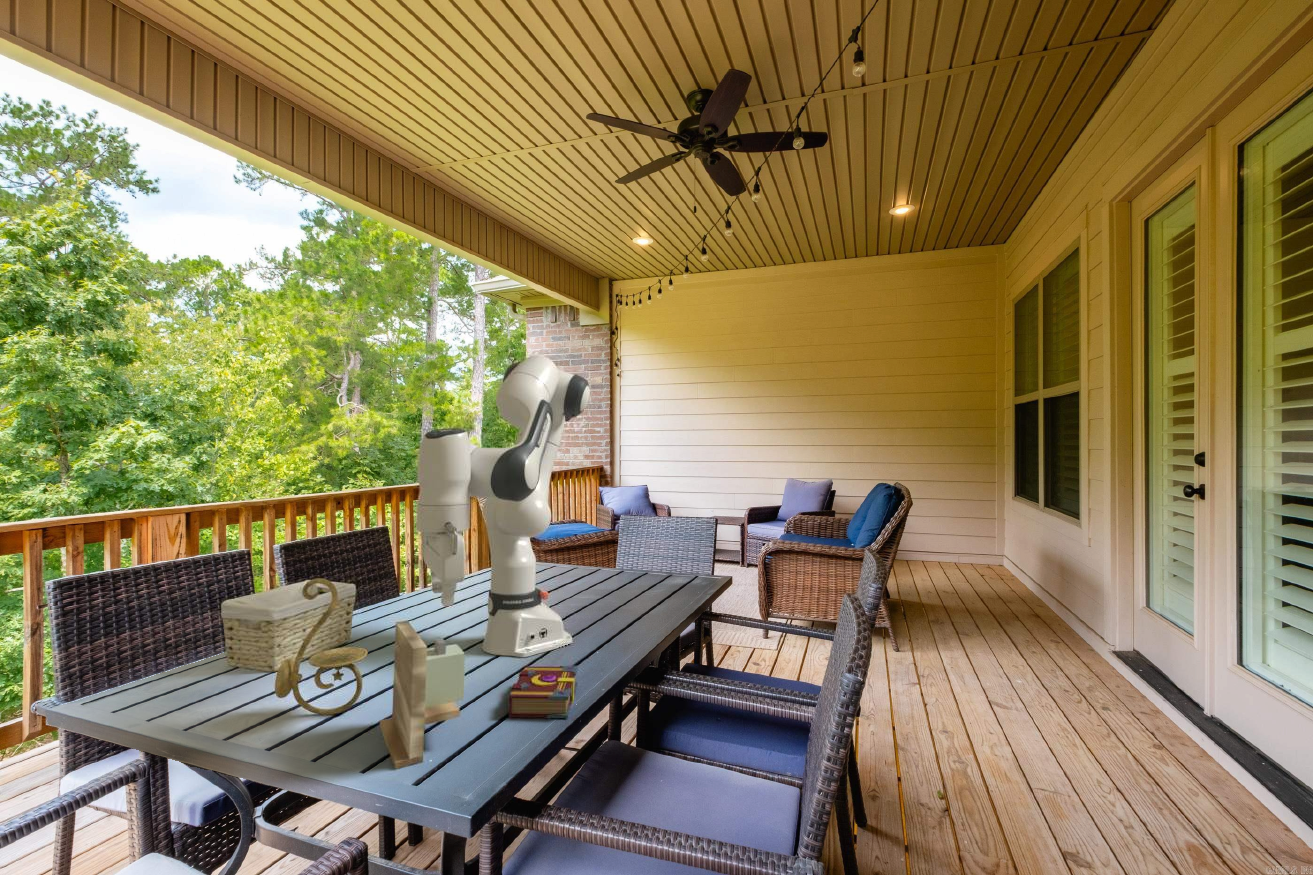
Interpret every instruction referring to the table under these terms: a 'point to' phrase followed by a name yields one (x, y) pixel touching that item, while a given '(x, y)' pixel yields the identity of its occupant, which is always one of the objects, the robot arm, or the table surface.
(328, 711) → the wall sconce
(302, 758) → the table surface
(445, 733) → the table surface
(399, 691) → the wall board
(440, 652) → the sage cabinet
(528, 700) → the decorative book
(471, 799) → the table surface
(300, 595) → the storage basket
